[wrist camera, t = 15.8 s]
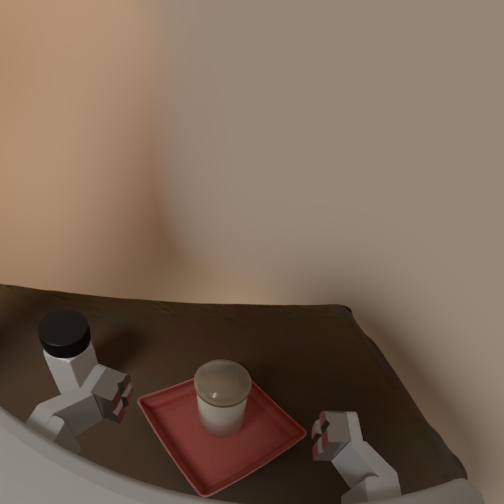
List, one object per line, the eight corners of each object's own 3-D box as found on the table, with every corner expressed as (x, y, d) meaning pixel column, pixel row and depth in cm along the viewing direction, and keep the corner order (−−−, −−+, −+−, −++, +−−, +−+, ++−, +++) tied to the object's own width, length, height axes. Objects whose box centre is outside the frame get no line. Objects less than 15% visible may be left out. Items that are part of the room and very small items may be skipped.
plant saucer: (202, 504, 23) (203, 499, 22) (137, 409, 35) (135, 397, 34) (303, 442, 35) (309, 433, 33) (231, 373, 47) (234, 361, 46)
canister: (190, 429, 32) (185, 392, 27) (207, 395, 37) (206, 353, 32) (236, 444, 30) (242, 411, 26) (249, 408, 36) (257, 368, 31)
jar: (108, 396, 35) (93, 342, 31) (62, 405, 31) (37, 351, 26) (96, 358, 42) (84, 304, 37) (55, 365, 37) (37, 310, 32)
